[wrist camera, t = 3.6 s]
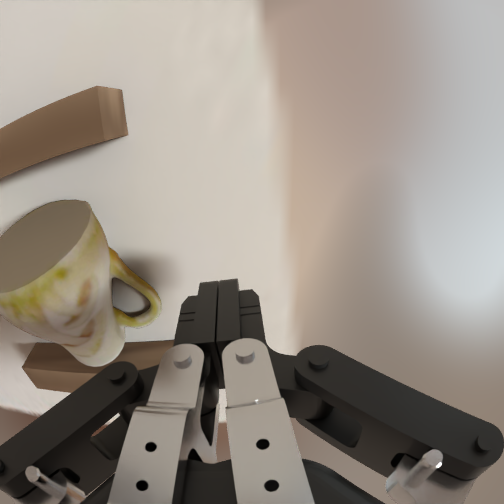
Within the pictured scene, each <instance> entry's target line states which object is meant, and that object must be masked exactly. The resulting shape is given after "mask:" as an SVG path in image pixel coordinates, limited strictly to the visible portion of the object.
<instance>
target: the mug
mask: <svg viewBox="0 0 504 504" xmlns="http://www.w3.org/2000/svg"><path fill="white" fill-rule="evenodd" d="M114 277H115V278H118V279H121V280H122V281H124V282H125V283H127V284H128V285H130V286H132V287H133V288H135V289H137V290H138V291H139V292H141V293H142V294H144V295H145V296H146V297H147V298H148V299H149V301H150V308H149V310H147V311H146V312H144V313H143V314H141V315H139V316H136V317H129V316H127V315H126V314H125V313H123V312H122V311H121V310H119V309H117V308H114V307H113V306H112V282H111V281H112V278H114ZM160 312H161V300H160V298H159V296H158V294H157V292H156V291H155V290H154V289H153V288H152V287H151V286H150V285H149V284H148V283H147V282H145V281H144V280H143V279H141V278H140V277H139V276H137V275H136V274H135V273H133V272H132V271H131V270H130V269H129V268H128V267H127V266H126V265H125V264H124V263H123V261H122V260H121V259H120V258H119V256H118V254H117V253H116V252H115V251H114V250H113V249H111V248H110V247H109V246H108V243H107V240H106V236H105V234H104V231H103V229H102V227H101V225H100V223H99V221H98V220H97V218H96V216H95V215H94V213H93V211H92V209H91V207H90V205H89V203H88V202H86V201H79V200H60V201H56V202H51V203H48V204H46V205H44V206H42V207H39V208H37V209H36V210H34V211H32V212H31V213H29V214H27V215H26V216H25V217H23V218H22V219H20V220H19V221H18V222H17V223H15V224H14V225H13V226H12V227H11V228H10V229H8V230H7V231H6V232H5V233H4V234H3V235H2V236H1V237H0V314H1V315H2V316H3V317H4V318H5V319H6V320H7V321H9V322H10V323H11V324H13V325H14V326H16V327H18V328H19V329H21V330H23V331H25V332H27V333H29V334H32V335H34V336H37V337H40V338H43V339H46V340H48V341H51V342H54V343H57V344H59V345H61V346H63V347H64V348H65V349H66V350H68V351H69V352H70V353H71V354H72V355H73V356H74V357H75V358H76V359H77V360H78V361H80V362H81V363H83V364H85V365H87V366H93V367H97V366H103V365H105V364H108V363H110V362H111V361H113V360H114V359H115V358H116V357H117V356H118V355H119V353H120V352H121V350H122V348H123V346H124V343H125V327H134V328H142V327H145V326H148V325H150V324H151V323H152V322H153V321H154V320H155V319H156V318H157V317H158V316H159V315H160Z"/></svg>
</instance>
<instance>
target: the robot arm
mask: <svg viewBox="0 0 504 504" xmlns="http://www.w3.org/2000/svg"><path fill="white" fill-rule="evenodd" d="M219 389H225V390H226V399H227V407H226V420H227V429H228V437H229V445H230V453H231V459H230V460H226V461H222V462H219V463H217V458H216V441H217V430H218V420H219V410H220V405H219ZM117 413H119V414H120V416H119V417H118V418H117V419H116V420H114V421H113V422H112V423H111V424H109V425H108V426H107V427H106V428H105V429H103V430H102V431H101V432H100V433H99V434H97V435H95V436H93V437H91V436H92V434H93V433H94V432H95V431H96V430H98V429H99V428H100V427H101V426H102V425H104V424H105V423H106V422H107V421H109V420H110V419H111V418H112V417H114V416H115V415H116V414H117ZM290 417H292V418H296V420H297V421H298V422H299V423H300V424H301V425H303V426H304V427H305V428H307V429H308V430H310V431H311V432H313V433H314V434H316V435H317V436H319V437H320V438H322V439H323V440H325V441H326V442H328V443H329V444H331V445H333V446H334V447H336V448H337V449H339V450H341V451H342V452H344V453H345V454H347V455H349V456H350V457H352V458H354V459H355V460H357V461H359V462H360V463H362V464H364V465H365V466H367V467H369V468H371V469H372V470H374V471H376V472H378V473H380V474H381V475H383V476H385V477H387V481H386V491H387V494H388V495H389V497H390V498H391V499H392V500H393V501H395V502H396V503H397V504H463V503H464V501H465V499H466V497H467V495H468V493H469V491H470V490H471V488H472V486H473V483H474V481H475V480H476V478H477V477H478V476H479V475H481V474H482V473H483V472H484V471H486V470H487V469H488V468H489V467H490V466H491V465H493V464H494V463H495V462H496V461H497V460H498V459H499V458H500V456H501V454H502V452H503V448H504V439H503V435H502V433H501V431H500V430H499V429H498V428H497V427H496V426H495V425H493V424H491V423H489V422H486V421H484V420H482V419H479V418H477V417H474V416H472V415H470V414H467V413H465V412H463V411H461V410H458V409H456V408H454V407H451V406H449V405H447V404H445V403H443V402H441V401H438V400H436V399H434V398H432V397H430V396H427V395H425V394H423V393H421V392H419V391H417V390H415V389H413V388H411V387H408V386H406V385H404V384H402V383H400V382H398V381H396V380H394V379H392V378H390V377H388V376H386V375H384V374H382V373H380V372H378V371H376V370H373V369H372V368H370V367H368V366H365V365H364V364H362V363H360V362H358V361H356V360H354V359H352V358H350V357H348V356H346V355H344V354H342V353H341V352H339V351H337V350H335V349H333V348H331V347H328V346H323V345H315V346H310V347H307V348H305V349H303V350H301V351H300V352H299V353H298V354H297V356H292V355H284V354H280V353H277V352H275V351H273V350H272V349H271V348H270V347H269V346H268V345H267V343H266V340H265V334H264V327H263V321H262V314H261V308H260V302H259V296H258V295H257V294H256V293H255V292H254V291H253V290H252V289H251V290H242V291H240V290H239V284H238V279H229V280H220V281H212V282H203V283H200V285H199V291H198V295H197V296H188V298H187V299H186V300H185V301H184V302H183V304H182V305H181V310H180V315H179V319H178V324H177V329H176V334H175V339H174V344H173V347H172V348H170V349H168V350H167V351H166V352H165V353H164V355H163V356H162V358H161V361H160V364H158V365H155V366H152V367H149V368H145V369H142V370H137V368H136V366H135V365H134V364H132V363H130V362H127V361H119V362H115V363H112V364H110V365H109V366H107V367H106V368H104V369H103V370H102V371H100V372H99V373H98V374H96V375H95V376H94V377H92V378H91V379H90V380H88V381H87V382H86V383H84V384H83V385H82V386H80V387H79V388H78V389H76V390H75V391H74V392H72V393H71V394H70V395H68V396H67V397H66V398H64V399H63V400H62V401H60V402H59V403H58V404H56V405H55V406H54V407H52V408H51V409H50V410H48V411H47V412H46V413H44V414H43V415H41V416H40V417H39V418H37V419H36V420H35V421H33V422H32V423H31V424H29V425H28V426H27V427H25V428H24V429H23V430H21V431H20V432H19V433H17V434H16V435H15V436H14V437H12V438H11V439H9V440H8V441H6V442H5V443H4V444H2V445H1V446H0V489H1V490H2V491H4V492H5V493H6V494H7V495H8V496H10V497H11V498H12V500H13V502H14V503H15V504H385V503H383V502H381V501H380V500H378V499H377V498H375V497H373V496H372V495H370V494H368V493H367V492H365V491H364V490H362V489H360V488H359V487H357V486H356V485H354V484H353V483H351V482H349V481H348V480H347V479H345V478H344V477H342V476H341V475H339V474H338V473H336V472H335V471H333V470H332V469H330V468H328V467H326V466H324V465H322V464H320V463H317V462H314V461H311V460H306V459H301V455H300V452H299V449H298V445H297V442H296V438H295V435H294V431H293V428H292V424H291V421H290ZM114 472H116V473H115V474H113V473H114ZM112 474H113V475H112ZM111 475H112V476H111ZM110 476H111V477H110ZM107 478H108V479H107ZM106 479H107V480H106ZM105 480H106V481H105ZM104 481H105V482H104ZM103 482H104V483H103ZM101 483H103V484H101ZM100 484H101V485H100ZM99 485H100V486H99ZM98 486H99V487H98ZM96 487H98V488H97V489H96V490H95V491H93V490H94V489H95V488H96ZM91 491H93V492H92V493H91V494H90V495H89V496H88V497H86V498H85V496H86V495H88V494H89V493H90V492H91Z"/></svg>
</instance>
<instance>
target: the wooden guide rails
mask: <svg viewBox="0 0 504 504" xmlns="http://www.w3.org/2000/svg"><path fill="white" fill-rule="evenodd" d="M126 135H128V130H127V123H126V117H125V110H124V102H123V94H122V90H120V89H114V88H108V87H101V86H95V87H92V88H90V89H87V90H84V91H81V92H79V93H76V94H73V95H71V96H68V97H66V98H63V99H61V100H58V101H56V102H54V103H51V104H49V105H47V106H45V107H42V108H40V109H38V110H36V111H34V112H32V113H30V114H28V115H25V116H23V117H21V118H20V119H18V120H16V121H14V122H12V123H10V124H8V125H6V126H4V127H3V128H1V129H0V178H2V177H5V176H7V175H9V174H12V173H14V172H16V171H19V170H21V169H24V168H26V167H29V166H31V165H34V164H36V163H39V162H42V161H44V160H47V159H50V158H53V157H55V156H58V155H61V154H64V153H67V152H70V151H73V150H76V149H80V148H83V147H86V146H89V145H93V144H96V143H100V142H103V141H107V140H110V139H114V138H118V137H122V136H126ZM173 344H174V340H169V341H153V342H132V343H124V346H123V348H122V350H121V352H120V353H119V355H118V356H117V357H116V358H115V359H114V360H113V361H111V362H110V363H108V364H105V365H103V366H97V367H93V366H87V365H85V364H83V363H81V362H80V361H78V360H77V359H76V358H75V357H74V356H73V355H72V354H71V353H70V352H69V351H68V350H66V349H65V348H64V347H63V346H61V345H59V344H57V343H36V344H35V346H34V348H33V349H32V351H31V353H30V354H29V356H28V358H27V359H26V361H25V363H24V365H23V366H22V368H23V370H24V371H25V373H26V374H27V375H28V377H29V378H30V379H31V381H32V382H33V383H34V385H35V386H36V387H37V388H40V389H46V390H53V391H61V392H70V393H72V392H74V391H75V390H76V389H78V388H79V387H80V386H82V385H83V384H84V383H86V382H87V381H88V380H90V379H91V378H92V377H94V376H95V375H96V374H98V373H99V372H100V371H102V370H103V369H104V368H106V367H107V366H109V365H110V364H112V363H115V362H119V361H127V362H130V363H132V364H134V365H135V366H136V368H137V370H142V369H145V368H149V367H152V366H155V365H158V364H160V361H161V358H162V356H163V355H164V353H165V352H166V351H167V350H168V349H170V348H172V347H173Z"/></svg>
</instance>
